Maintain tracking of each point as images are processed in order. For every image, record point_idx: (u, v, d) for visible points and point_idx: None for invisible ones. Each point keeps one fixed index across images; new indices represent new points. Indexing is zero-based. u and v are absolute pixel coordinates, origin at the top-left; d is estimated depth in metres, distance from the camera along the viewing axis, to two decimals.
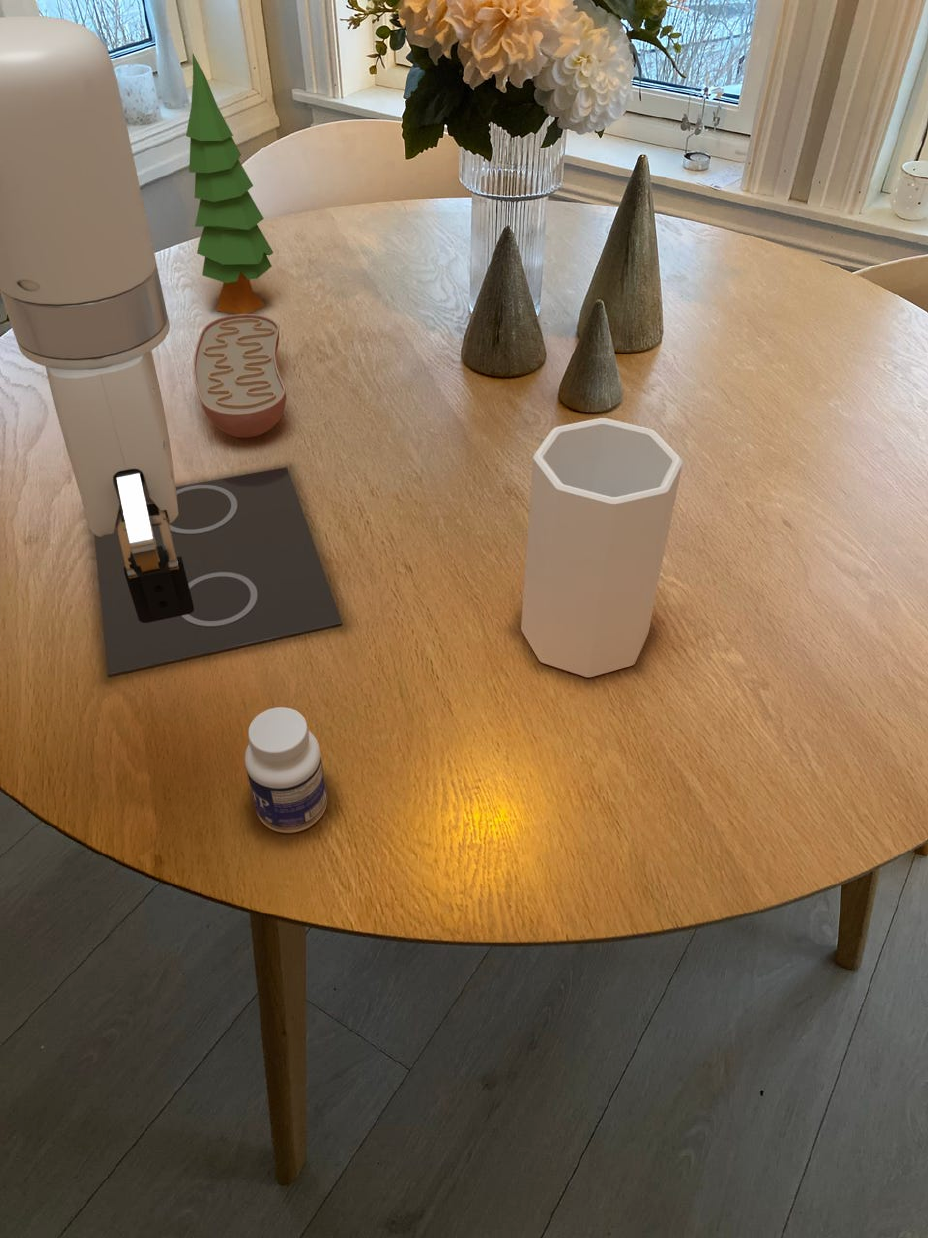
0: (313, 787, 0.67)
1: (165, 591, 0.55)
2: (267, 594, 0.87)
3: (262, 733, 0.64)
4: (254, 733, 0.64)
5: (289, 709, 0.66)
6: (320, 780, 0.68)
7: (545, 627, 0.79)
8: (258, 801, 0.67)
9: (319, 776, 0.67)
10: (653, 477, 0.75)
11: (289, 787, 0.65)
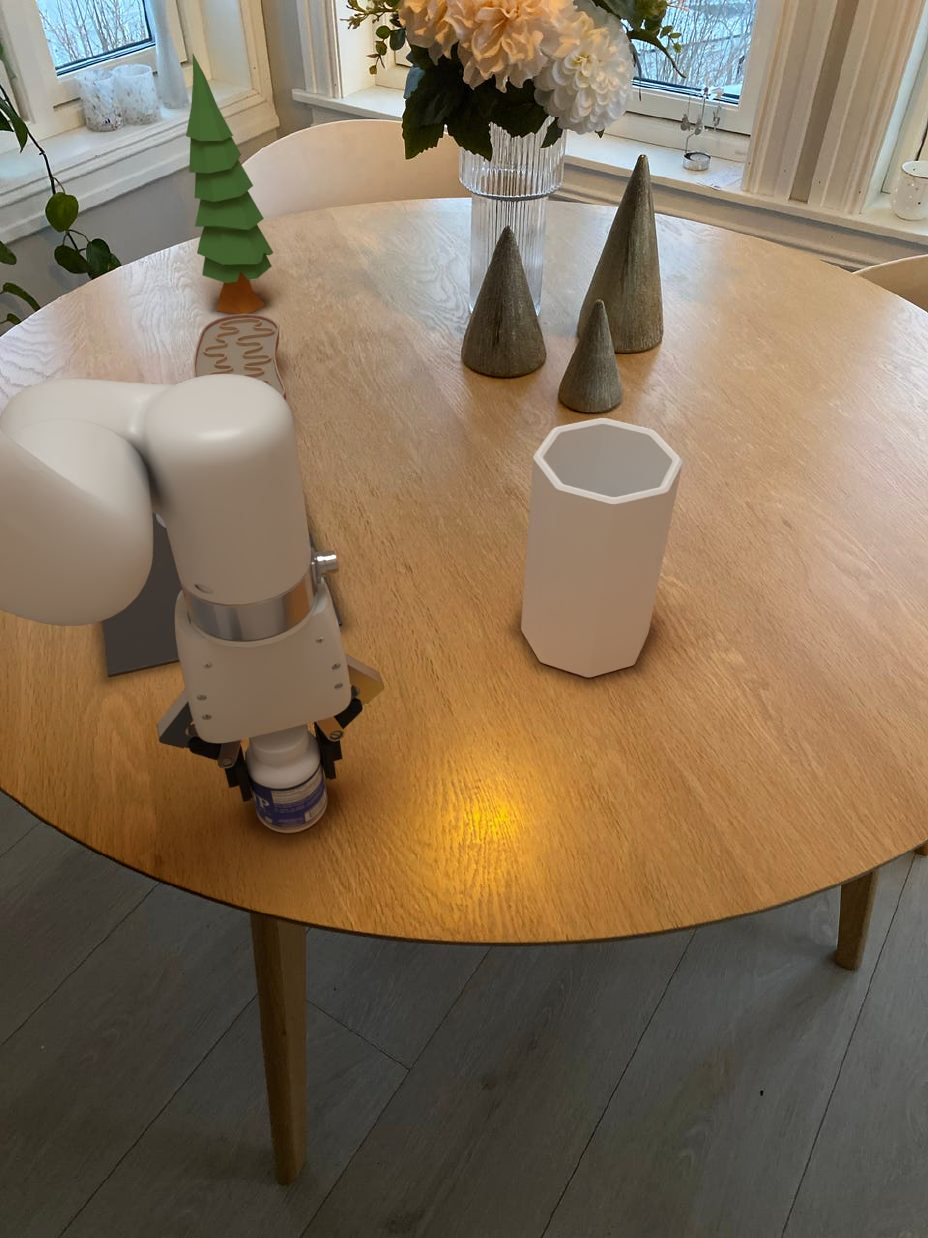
0: (313, 787, 0.67)
1: None
2: None
3: None
4: None
5: None
6: (320, 780, 0.68)
7: (545, 627, 0.79)
8: (258, 801, 0.67)
9: (319, 776, 0.67)
10: (653, 477, 0.75)
11: (289, 787, 0.65)
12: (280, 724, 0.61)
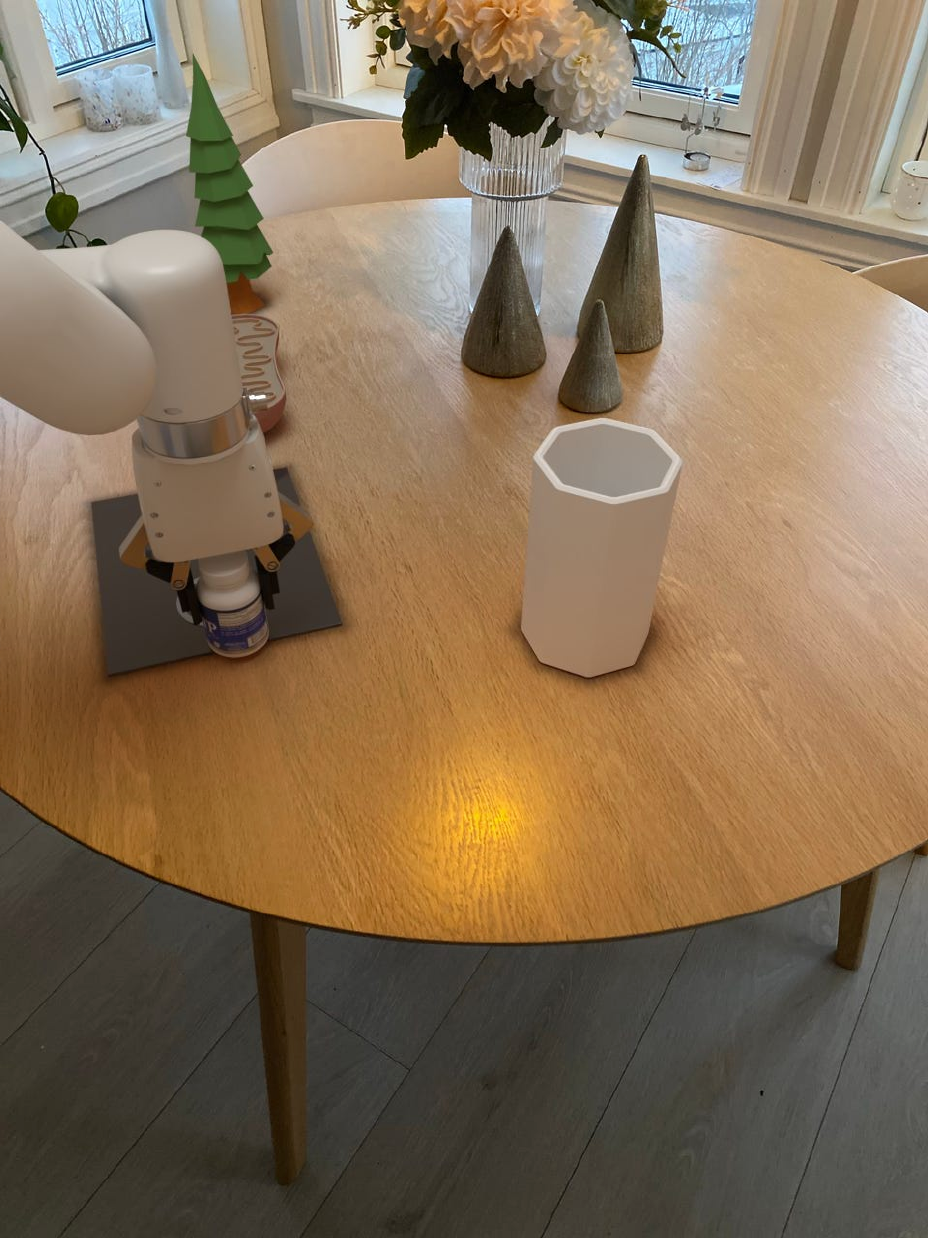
0: (254, 614, 0.79)
1: None
2: None
3: (210, 562, 0.76)
4: (202, 562, 0.76)
5: None
6: (261, 610, 0.79)
7: (545, 627, 0.79)
8: (207, 626, 0.79)
9: (259, 605, 0.79)
10: (653, 477, 0.75)
11: (232, 609, 0.77)
12: (222, 547, 0.73)
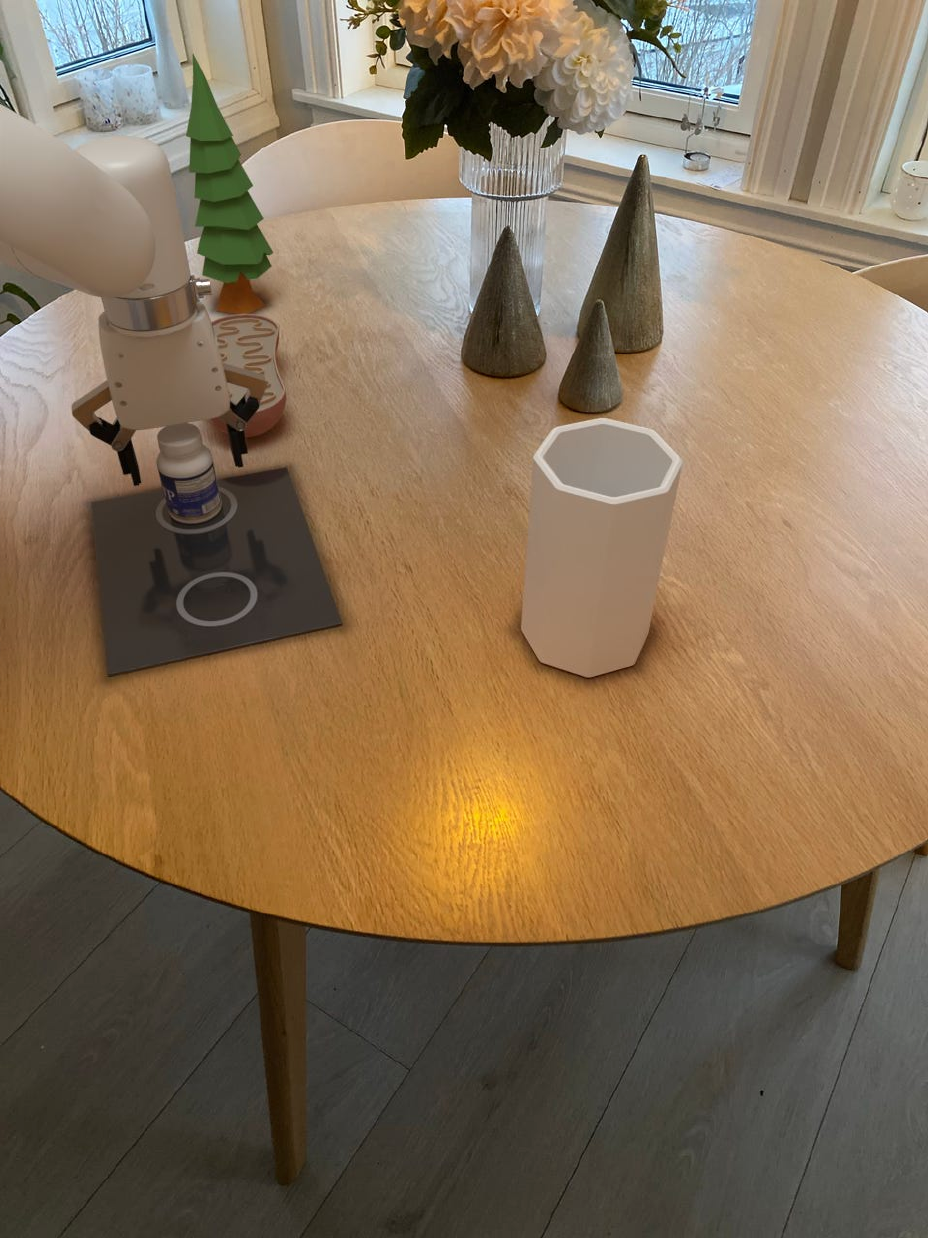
0: (206, 483, 0.92)
1: (119, 457, 0.89)
2: (267, 594, 0.87)
3: (167, 436, 0.89)
4: (161, 436, 0.89)
5: (188, 423, 0.91)
6: (213, 481, 0.93)
7: (545, 627, 0.79)
8: (167, 495, 0.92)
9: (211, 476, 0.92)
10: (653, 478, 0.75)
11: (187, 477, 0.90)
12: (177, 417, 0.86)
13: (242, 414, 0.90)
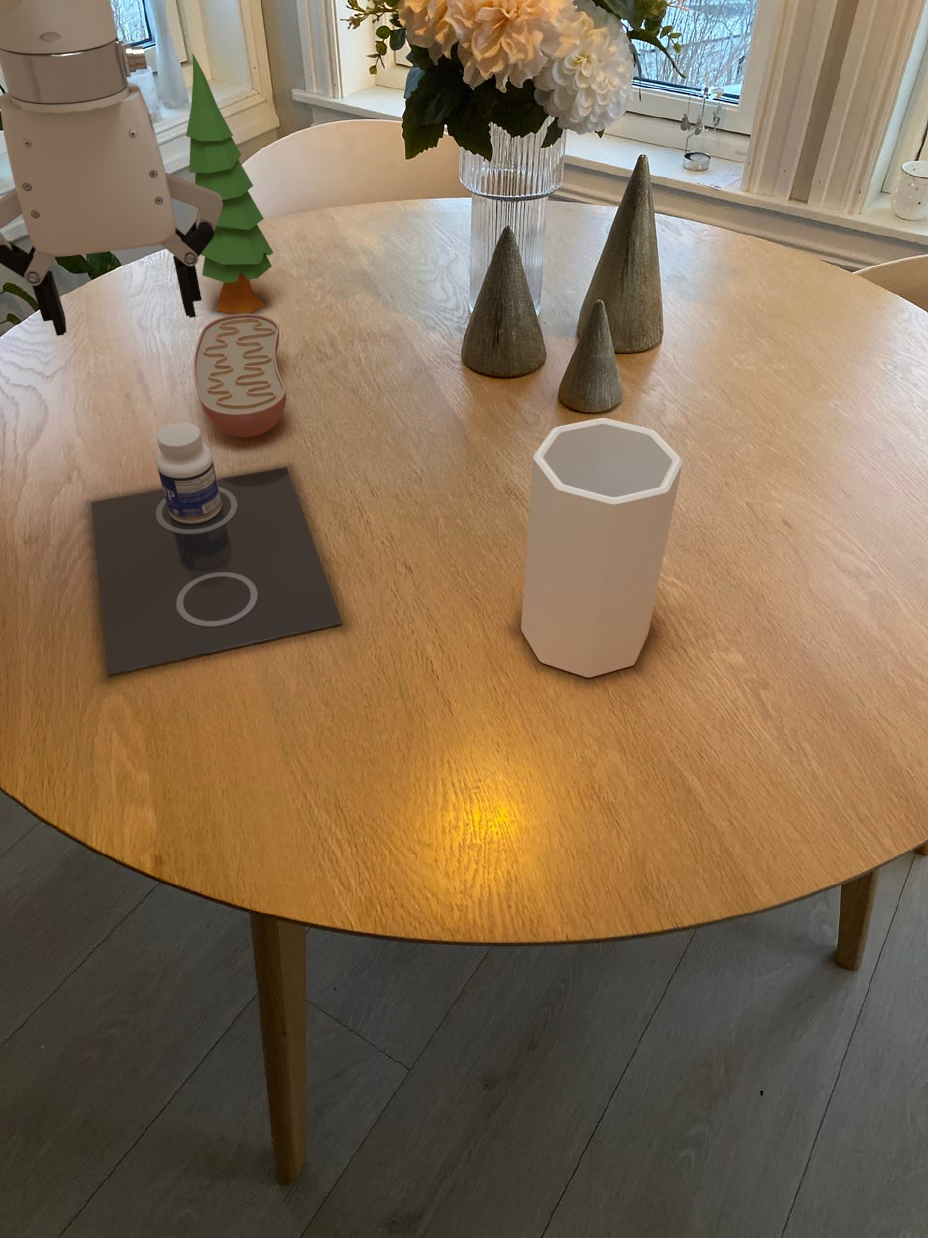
0: (206, 483, 0.92)
1: None
2: (267, 594, 0.87)
3: (167, 436, 0.89)
4: (161, 436, 0.89)
5: (188, 423, 0.91)
6: (213, 481, 0.93)
7: (545, 627, 0.79)
8: (167, 495, 0.92)
9: (211, 476, 0.92)
10: (653, 478, 0.75)
11: (187, 477, 0.90)
12: (108, 239, 0.68)
13: (192, 244, 0.71)
